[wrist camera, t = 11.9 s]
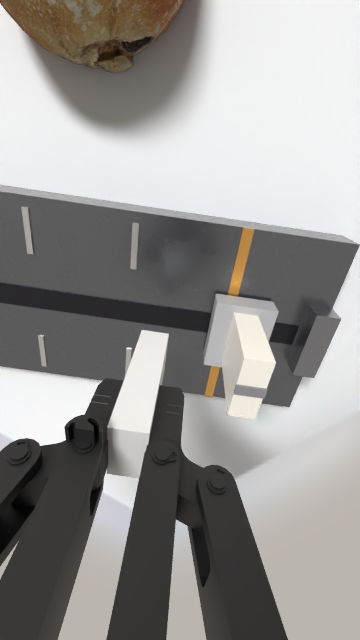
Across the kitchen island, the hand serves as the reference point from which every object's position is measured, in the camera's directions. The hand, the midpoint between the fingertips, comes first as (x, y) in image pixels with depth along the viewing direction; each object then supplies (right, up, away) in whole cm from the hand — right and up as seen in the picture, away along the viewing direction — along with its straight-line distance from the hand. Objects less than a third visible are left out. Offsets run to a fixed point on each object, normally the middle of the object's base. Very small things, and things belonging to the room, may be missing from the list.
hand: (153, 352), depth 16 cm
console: (-2, +4, +7) cm, 8 cm away
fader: (+6, +1, +5) cm, 7 cm away
